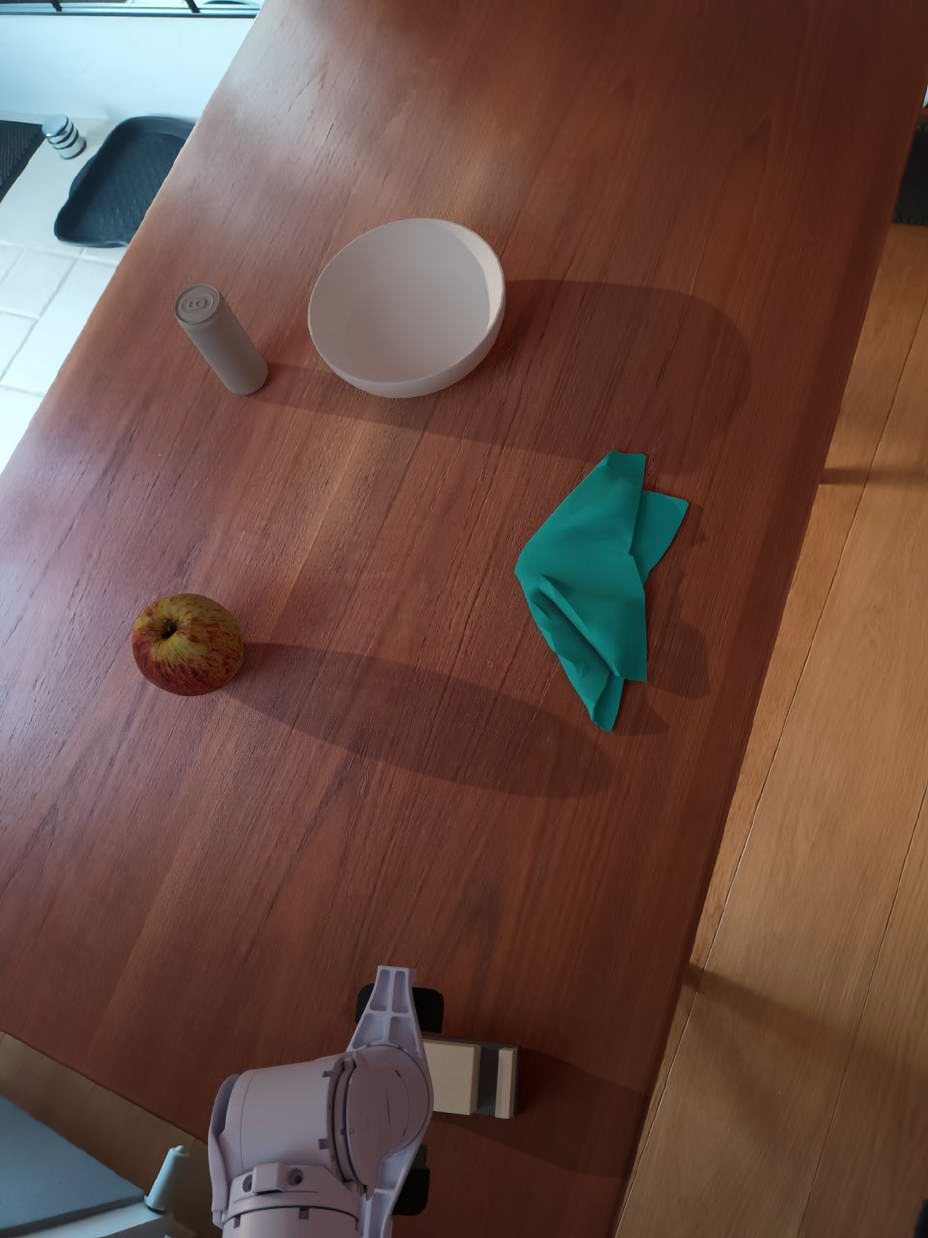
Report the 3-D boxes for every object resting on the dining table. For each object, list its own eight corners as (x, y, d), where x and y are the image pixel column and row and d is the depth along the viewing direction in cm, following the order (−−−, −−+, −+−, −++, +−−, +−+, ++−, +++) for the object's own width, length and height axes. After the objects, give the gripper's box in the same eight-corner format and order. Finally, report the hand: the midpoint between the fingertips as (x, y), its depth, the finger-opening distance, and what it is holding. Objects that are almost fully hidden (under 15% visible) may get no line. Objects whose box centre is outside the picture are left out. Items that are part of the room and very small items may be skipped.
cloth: (558, 439, 90) (555, 426, 88) (704, 465, 86) (705, 452, 84) (474, 697, 82) (469, 690, 80) (630, 739, 78) (630, 732, 76)
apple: (151, 689, 89) (92, 655, 79) (197, 604, 91) (145, 561, 82) (232, 724, 86) (180, 693, 77) (277, 635, 88) (232, 594, 79)
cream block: (520, 1045, 72) (513, 1048, 68) (516, 1116, 70) (508, 1123, 67) (381, 1030, 74) (366, 1033, 71) (373, 1098, 73) (358, 1105, 69)
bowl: (530, 393, 92) (521, 355, 86) (337, 441, 94) (316, 406, 89) (497, 239, 99) (487, 195, 94) (319, 287, 102) (299, 246, 96)
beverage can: (267, 396, 98) (217, 321, 87) (223, 400, 99) (169, 327, 88) (272, 356, 100) (223, 278, 89) (228, 361, 101) (175, 284, 90)
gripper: (306, 959, 55) (372, 963, 67) (267, 1254, 50) (346, 1199, 62) (426, 970, 53) (470, 972, 66) (398, 1275, 48) (452, 1215, 61)
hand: (417, 1084), depth 64 cm, fingers open, 7 cm apart
